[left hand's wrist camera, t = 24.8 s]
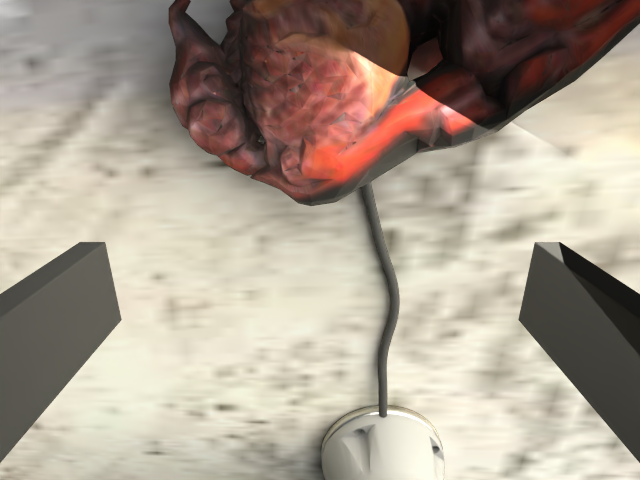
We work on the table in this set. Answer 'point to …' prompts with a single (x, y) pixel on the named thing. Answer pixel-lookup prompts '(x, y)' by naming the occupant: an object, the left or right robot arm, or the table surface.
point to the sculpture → (373, 80)
